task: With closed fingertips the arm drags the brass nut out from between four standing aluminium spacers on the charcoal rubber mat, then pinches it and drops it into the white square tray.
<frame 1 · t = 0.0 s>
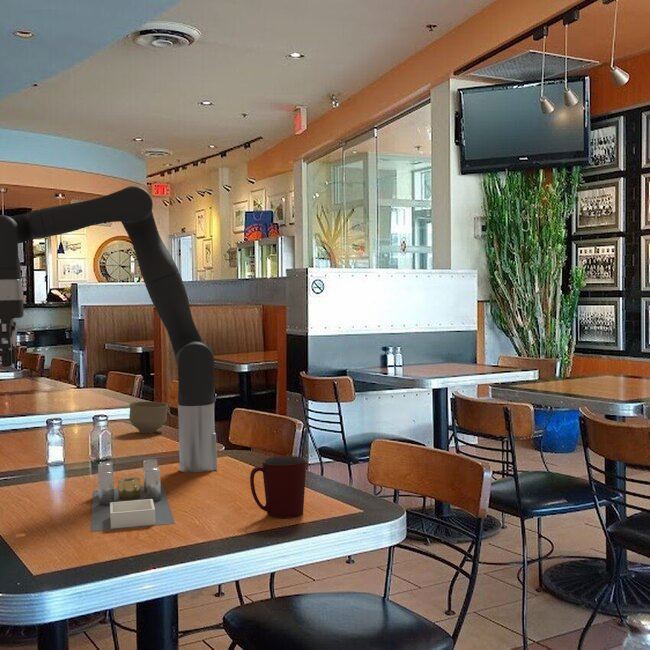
hand: (8, 365, 197), 29 cm above the table, fingers open, 8 cm apart
mug: (278, 515, 166), on the table
spacers: (129, 481, 181), on the mat
white square tray: (132, 520, 162), resting on mat
nut: (129, 488, 181), on the mat
mat: (130, 508, 173), on the table
bowl: (149, 433, 268), on the table
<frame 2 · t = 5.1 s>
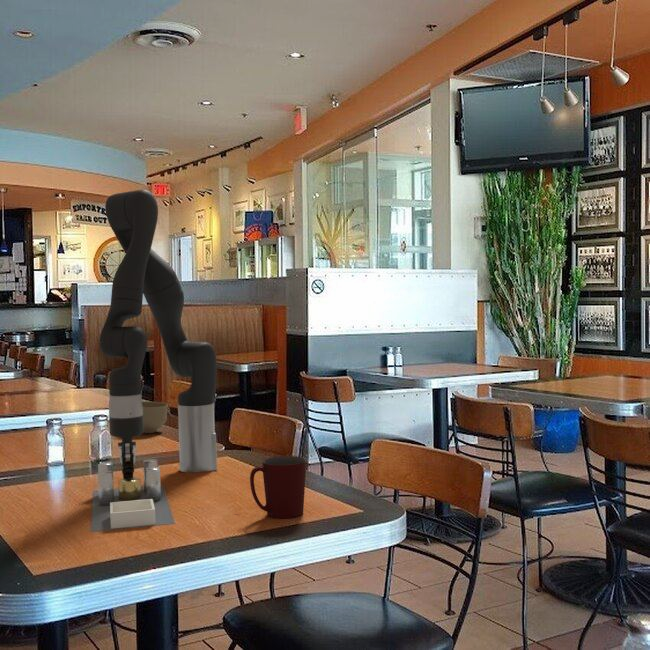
hand: (128, 489, 185), 1 cm above the table, fingers closed
nut: (129, 489, 180), point 2 cm above the table, touching gripper
everything else where it was.
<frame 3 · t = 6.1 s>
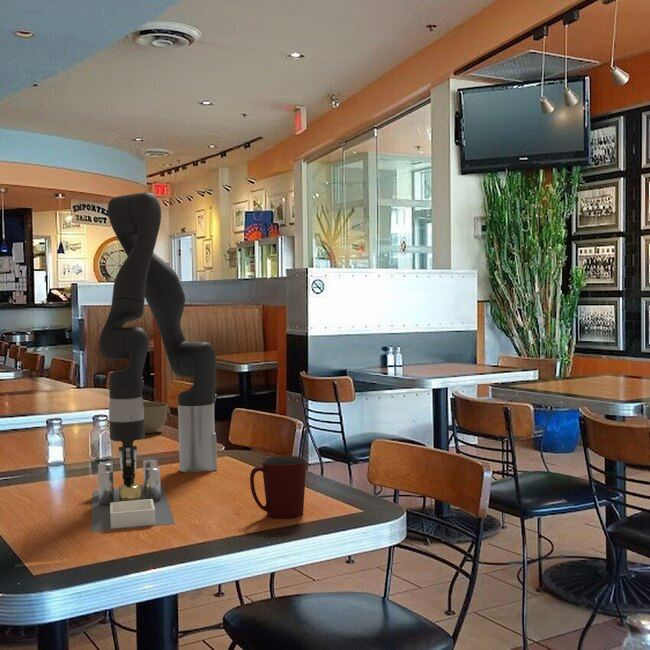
hand: (129, 495, 179), 1 cm above the table, fingers closed
nut: (130, 495, 174), on the mat, touching gripper
everything else where it was.
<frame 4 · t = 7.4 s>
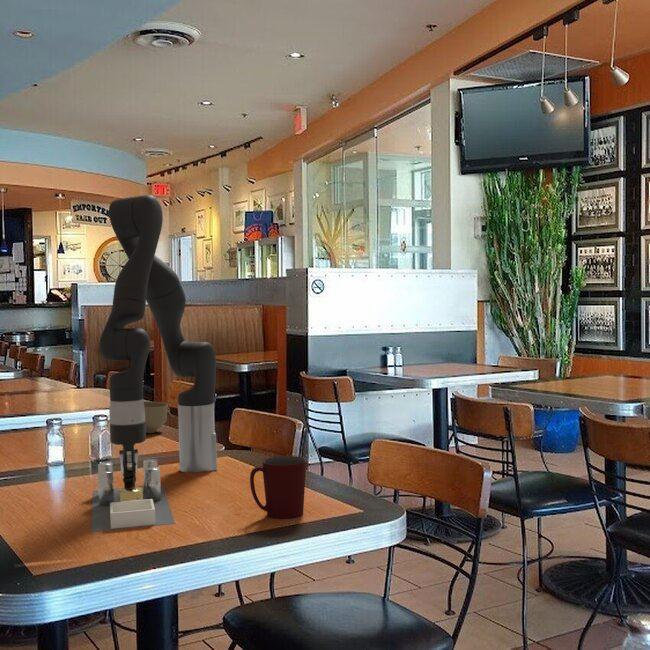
hand: (130, 499, 176), 1 cm above the table, fingers closed
nut: (131, 499, 171), on the mat, touching gripper
everything else where it was.
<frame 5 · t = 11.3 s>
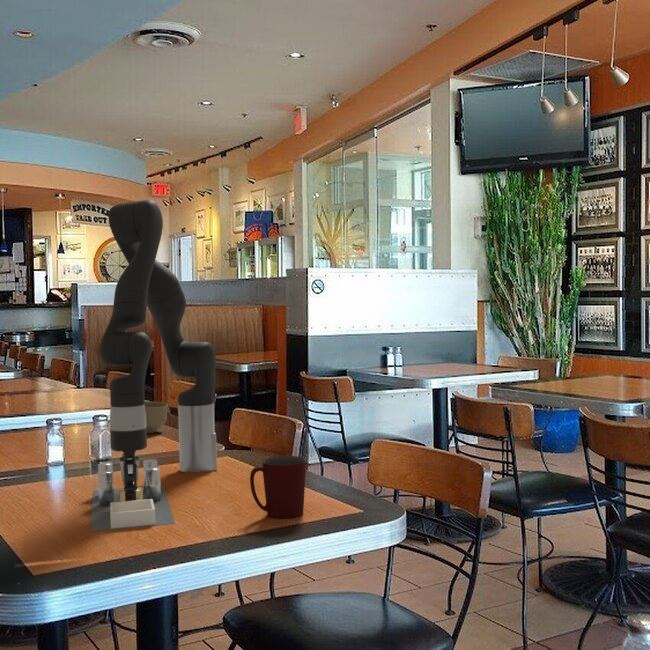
hand: (130, 506, 171), 1 cm above the table, fingers closed on nut, 4 cm apart
nut: (131, 499, 171), on the mat, touching gripper
everything else where it was.
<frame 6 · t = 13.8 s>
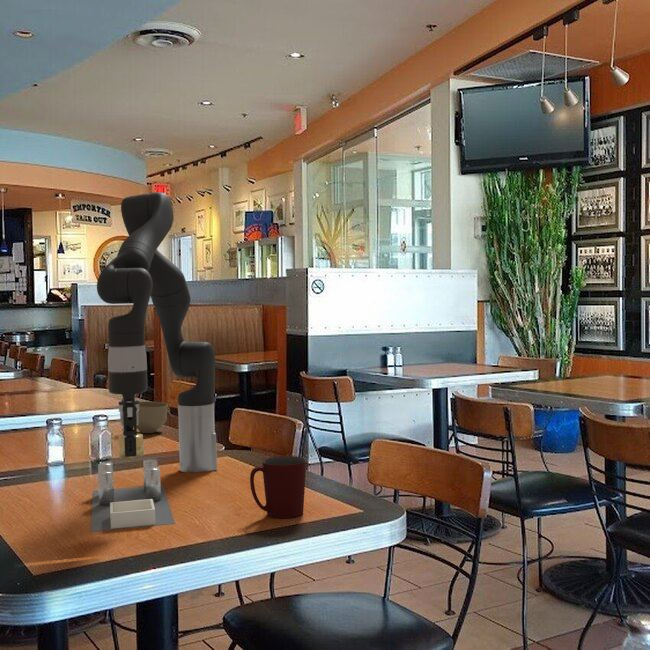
hand: (130, 453, 161), 14 cm above the table, fingers closed on nut, 4 cm apart
nut: (130, 445, 161), point 16 cm above the table, touching gripper
everything else where it was.
when the fingers open (3 cm above the table, at t = 16.1 s): nut drops 2 cm, resting on white square tray.
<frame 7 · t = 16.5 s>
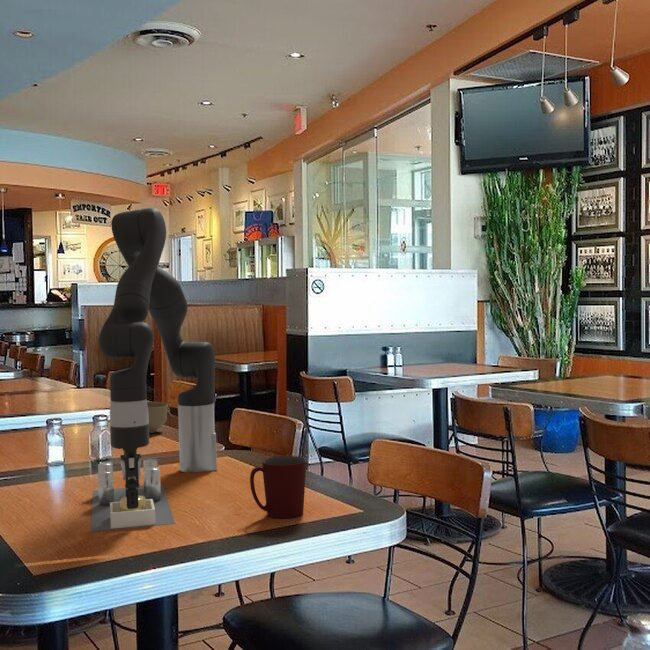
hand: (132, 502, 162), 4 cm above the table, fingers open, 8 cm apart
nut: (133, 508, 162), in the white square tray, point 3 cm above the table
everything else where it was.
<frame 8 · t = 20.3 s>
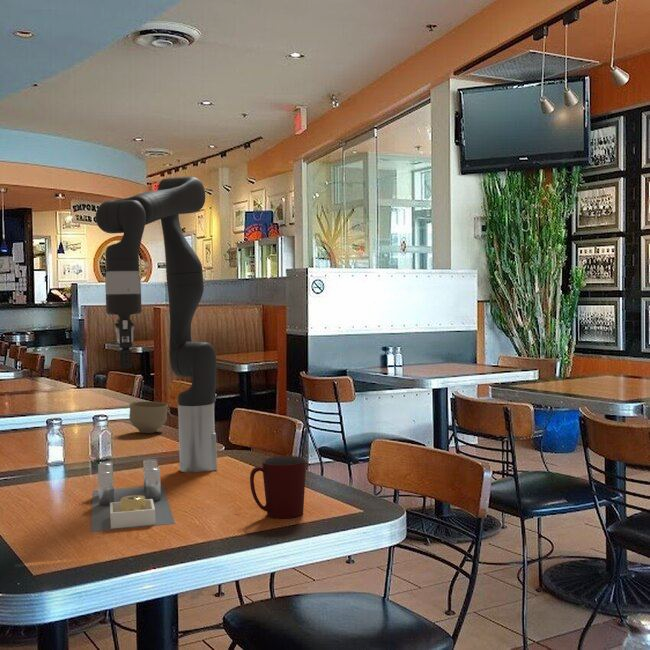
hand: (125, 366, 177), 30 cm above the table, fingers open, 8 cm apart
nothing on the table moved.
at the end: nut 0.2 cm off-centre on the white square tray, point 2.6 cm above the white square tray's base; the gripper is holding nothing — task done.
